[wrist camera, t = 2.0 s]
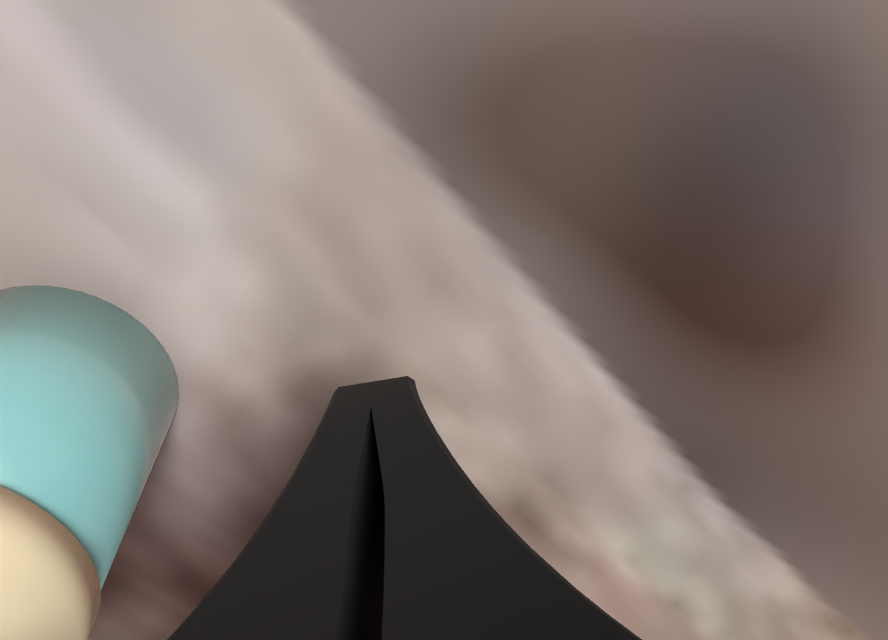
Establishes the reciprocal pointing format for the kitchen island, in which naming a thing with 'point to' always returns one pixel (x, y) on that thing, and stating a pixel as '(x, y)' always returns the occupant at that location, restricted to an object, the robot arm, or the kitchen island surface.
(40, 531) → the jar
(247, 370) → the kitchen island surface
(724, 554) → the kitchen island surface
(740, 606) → the kitchen island surface
